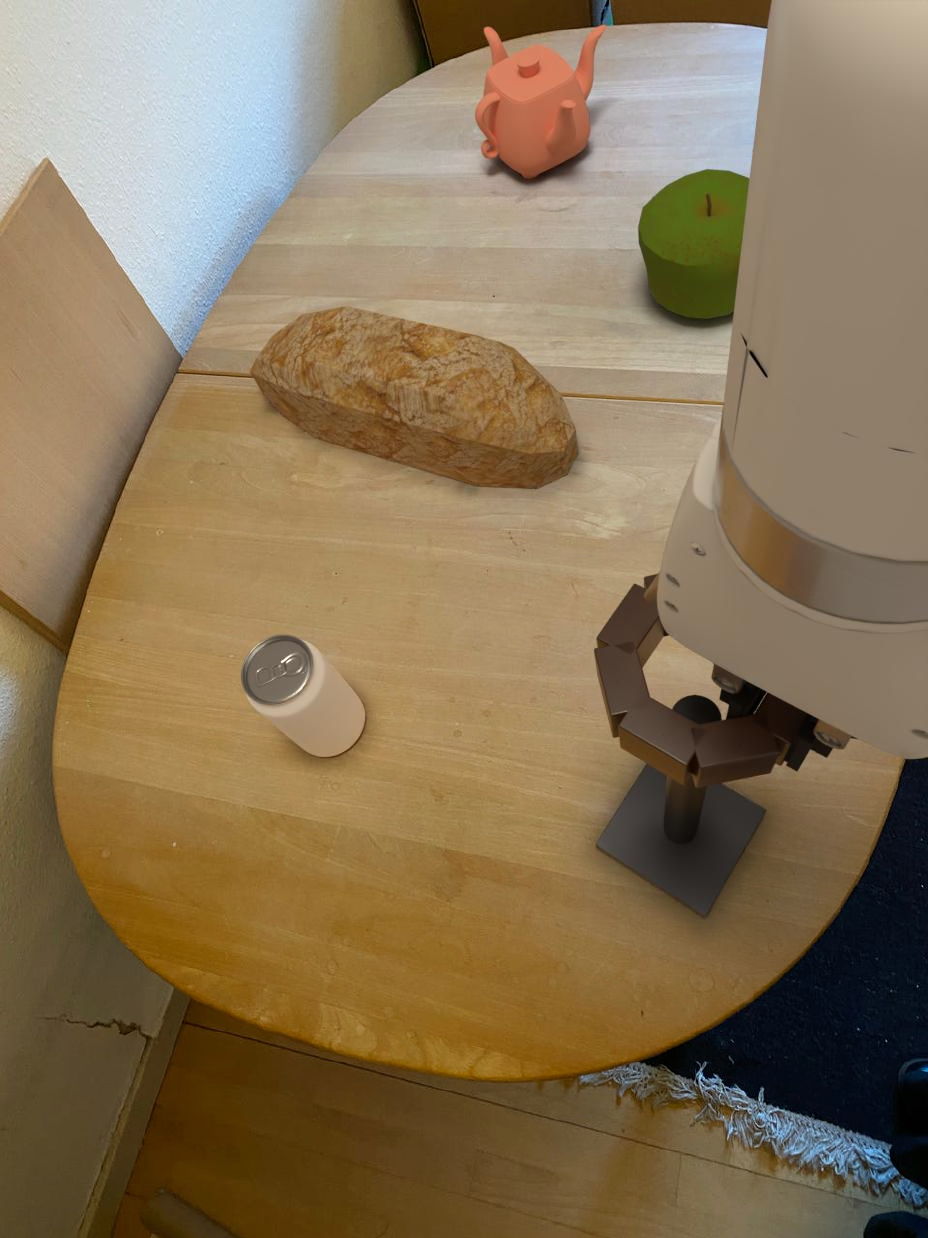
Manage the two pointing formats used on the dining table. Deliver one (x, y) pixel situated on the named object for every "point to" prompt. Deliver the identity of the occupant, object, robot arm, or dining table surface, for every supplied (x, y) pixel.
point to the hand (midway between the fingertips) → (777, 721)
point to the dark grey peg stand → (682, 828)
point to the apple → (695, 242)
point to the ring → (665, 732)
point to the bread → (419, 397)
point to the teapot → (535, 105)
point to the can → (302, 695)
